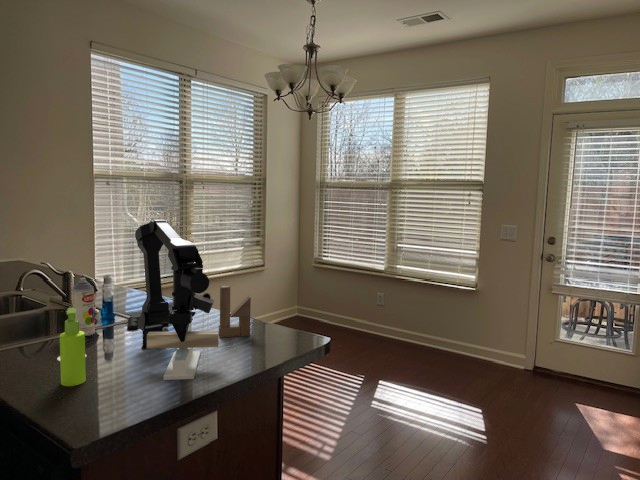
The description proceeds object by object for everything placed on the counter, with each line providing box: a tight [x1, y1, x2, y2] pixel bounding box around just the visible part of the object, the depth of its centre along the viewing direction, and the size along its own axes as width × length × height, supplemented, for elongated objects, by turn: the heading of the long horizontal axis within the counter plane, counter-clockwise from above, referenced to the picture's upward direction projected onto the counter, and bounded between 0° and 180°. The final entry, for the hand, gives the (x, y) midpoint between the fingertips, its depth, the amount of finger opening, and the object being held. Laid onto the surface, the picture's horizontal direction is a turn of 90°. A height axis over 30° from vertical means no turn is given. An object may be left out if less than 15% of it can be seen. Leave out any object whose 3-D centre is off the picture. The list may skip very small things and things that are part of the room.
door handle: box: [126, 315, 169, 332], centre depth 180 cm, size 3×20×16 cm
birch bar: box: [147, 330, 220, 350], centre depth 139 cm, size 3×20×4 cm, turn 98°
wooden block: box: [218, 285, 252, 339], centre depth 170 cm, size 4×11×18 cm, turn 109°
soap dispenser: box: [59, 307, 87, 387], centre depth 125 cm, size 6×7×20 cm
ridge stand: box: [162, 348, 202, 381], centre depth 140 cm, size 8×20×6 cm, turn 9°
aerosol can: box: [71, 277, 96, 337], centre depth 166 cm, size 7×7×20 cm
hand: (183, 339), depth 139 cm, fingers open, 3 cm apart
